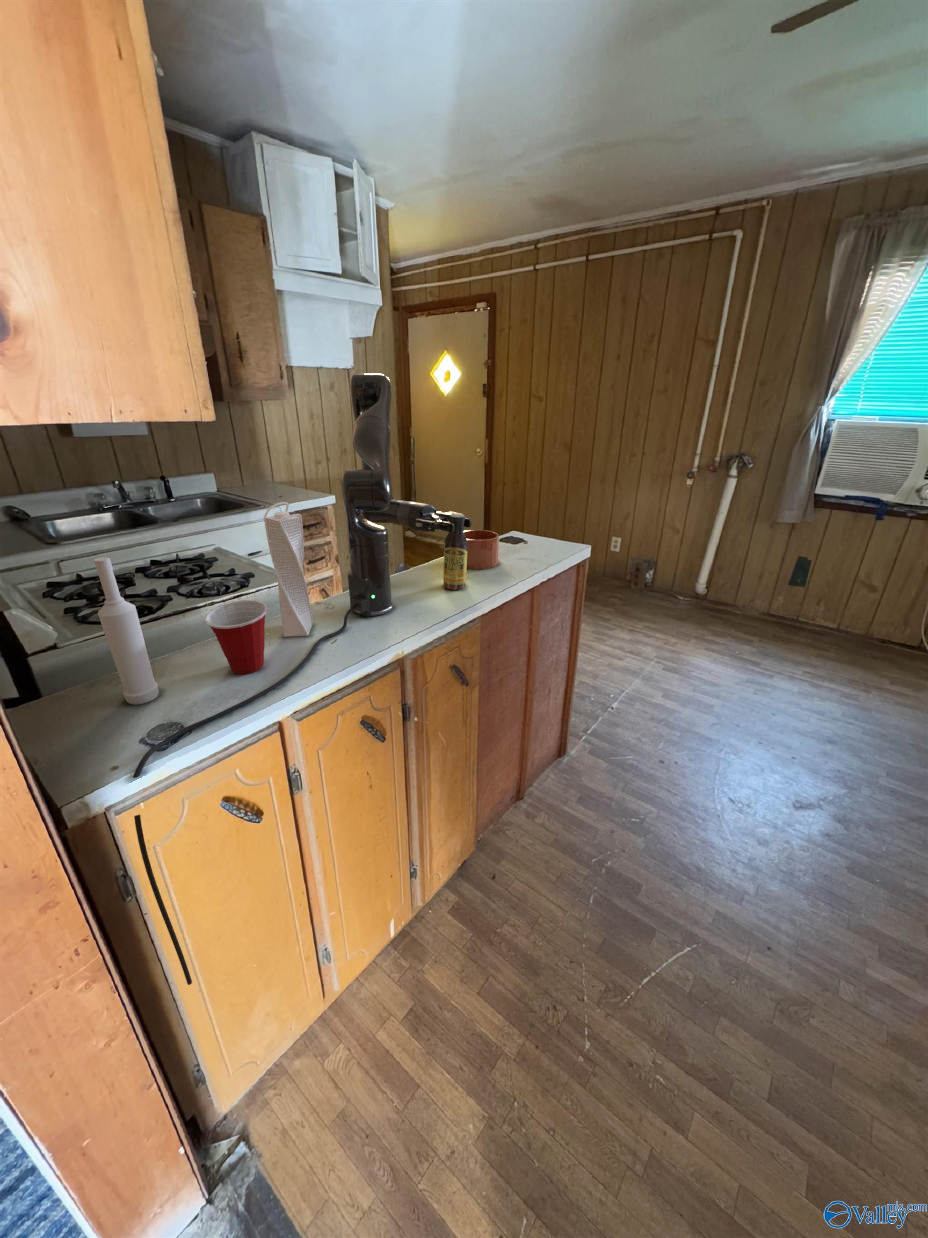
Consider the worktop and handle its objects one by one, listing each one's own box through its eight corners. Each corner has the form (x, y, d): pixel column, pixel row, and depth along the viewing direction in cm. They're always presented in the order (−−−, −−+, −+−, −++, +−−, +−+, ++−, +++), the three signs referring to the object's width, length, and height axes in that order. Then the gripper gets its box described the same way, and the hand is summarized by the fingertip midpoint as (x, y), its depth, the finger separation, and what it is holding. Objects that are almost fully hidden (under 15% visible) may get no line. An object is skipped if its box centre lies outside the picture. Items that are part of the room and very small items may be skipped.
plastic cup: (203, 677, 94) (189, 618, 89) (242, 651, 103) (231, 596, 98) (252, 686, 91) (240, 626, 86) (288, 658, 100) (279, 603, 95)
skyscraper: (285, 623, 115) (267, 501, 104) (318, 622, 116) (303, 500, 105) (277, 639, 108) (256, 509, 97) (313, 637, 109) (296, 508, 97)
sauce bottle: (441, 590, 136) (440, 517, 128) (445, 582, 141) (445, 512, 133) (465, 591, 135) (465, 518, 127) (468, 583, 140) (469, 513, 132)
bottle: (123, 708, 84) (77, 565, 74) (128, 692, 89) (85, 556, 78) (158, 701, 86) (118, 561, 76) (161, 686, 90) (124, 552, 80)
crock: (480, 572, 150) (481, 542, 146) (449, 563, 157) (448, 535, 154) (506, 562, 159) (507, 534, 155) (474, 554, 166) (475, 527, 163)
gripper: (396, 506, 133) (443, 515, 123) (433, 498, 143) (479, 506, 133) (398, 534, 136) (443, 545, 126) (434, 524, 146) (479, 534, 136)
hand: (462, 525), depth 130 cm, fingers open, 6 cm apart
